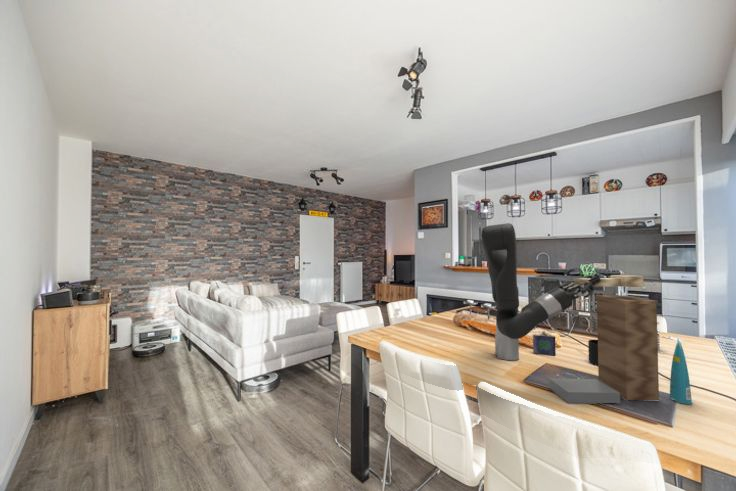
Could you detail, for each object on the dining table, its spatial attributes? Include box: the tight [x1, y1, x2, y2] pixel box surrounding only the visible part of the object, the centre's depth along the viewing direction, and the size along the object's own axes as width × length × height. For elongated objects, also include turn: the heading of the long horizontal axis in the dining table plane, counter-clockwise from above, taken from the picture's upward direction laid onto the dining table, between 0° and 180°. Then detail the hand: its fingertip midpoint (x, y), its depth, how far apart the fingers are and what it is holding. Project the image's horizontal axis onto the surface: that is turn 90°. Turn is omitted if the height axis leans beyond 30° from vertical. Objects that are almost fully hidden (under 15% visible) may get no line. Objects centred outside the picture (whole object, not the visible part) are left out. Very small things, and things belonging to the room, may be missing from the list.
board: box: [549, 378, 621, 405], centre depth 97 cm, size 16×10×4 cm, turn 88°
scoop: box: [573, 274, 644, 288], centre depth 101 cm, size 20×6×4 cm, turn 89°
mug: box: [587, 339, 598, 367], centre depth 126 cm, size 9×12×9 cm
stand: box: [594, 294, 660, 401], centre depth 100 cm, size 11×13×32 cm
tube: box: [669, 337, 693, 405], centre depth 94 cm, size 7×5×19 cm, turn 140°
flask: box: [532, 330, 557, 357], centre depth 138 cm, size 9×3×11 cm, turn 71°
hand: (595, 278), depth 101 cm, fingers closed on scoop, 2 cm apart
